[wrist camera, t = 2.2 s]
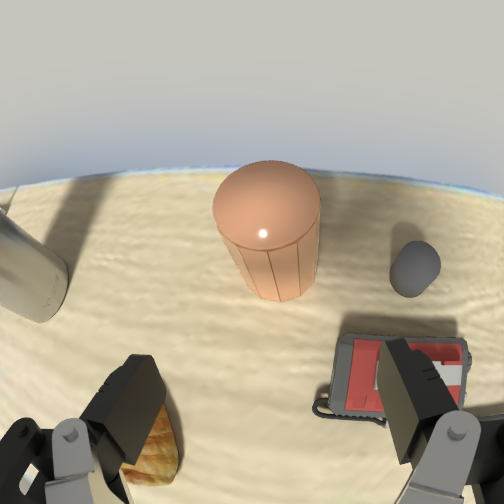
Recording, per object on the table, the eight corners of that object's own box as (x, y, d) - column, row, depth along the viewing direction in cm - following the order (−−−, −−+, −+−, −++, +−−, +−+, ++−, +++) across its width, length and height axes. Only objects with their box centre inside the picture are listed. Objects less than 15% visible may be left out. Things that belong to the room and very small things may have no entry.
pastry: (116, 385, 24) (92, 381, 20) (178, 388, 23) (159, 386, 20) (122, 473, 19) (99, 480, 16) (185, 484, 19) (167, 496, 15)
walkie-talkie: (305, 435, 20) (503, 427, 15) (306, 444, 16) (529, 428, 11) (323, 334, 23) (509, 341, 19) (327, 322, 20) (535, 330, 15)
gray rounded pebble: (388, 294, 24) (398, 279, 20) (390, 256, 25) (400, 237, 22) (425, 300, 23) (440, 286, 19) (426, 262, 24) (440, 244, 21)
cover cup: (235, 293, 26) (198, 237, 17) (254, 229, 29) (230, 157, 20) (308, 307, 24) (309, 255, 16) (321, 240, 27) (325, 166, 18)
